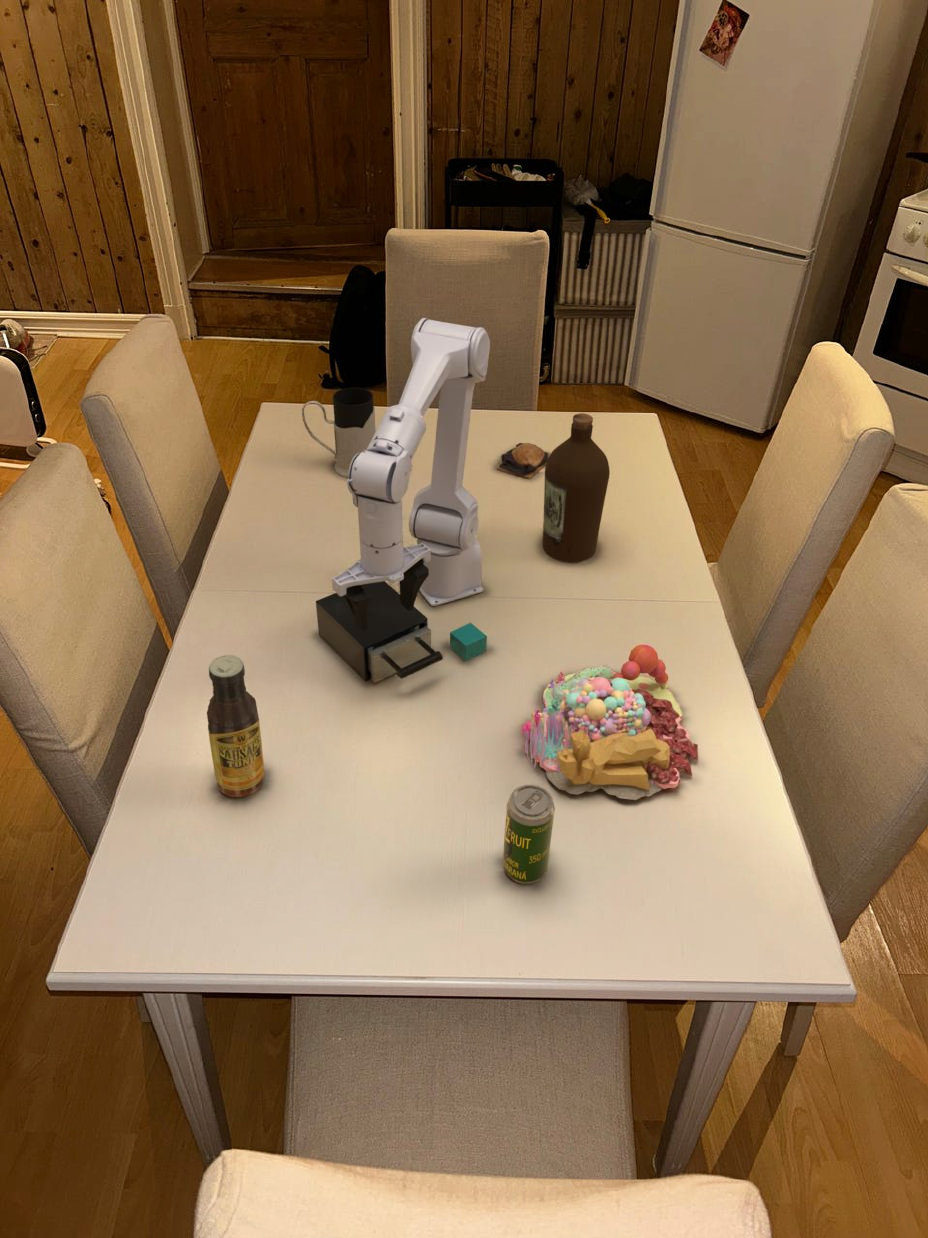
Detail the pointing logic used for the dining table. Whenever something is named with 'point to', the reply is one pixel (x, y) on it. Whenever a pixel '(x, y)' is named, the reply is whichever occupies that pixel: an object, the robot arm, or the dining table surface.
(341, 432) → the glass holder
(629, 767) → the candy landscape model
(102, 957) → the dining table surface
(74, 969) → the dining table surface
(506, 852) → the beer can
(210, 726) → the sauce bottle
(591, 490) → the olive oil
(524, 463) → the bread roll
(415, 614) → the black storage box
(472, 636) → the block
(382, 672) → the drawer
